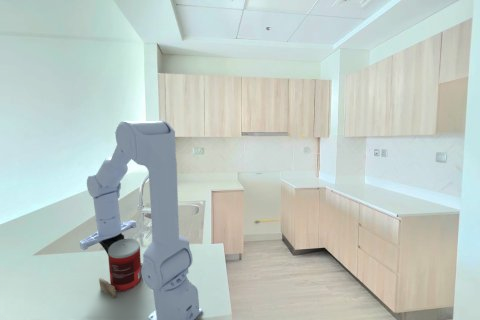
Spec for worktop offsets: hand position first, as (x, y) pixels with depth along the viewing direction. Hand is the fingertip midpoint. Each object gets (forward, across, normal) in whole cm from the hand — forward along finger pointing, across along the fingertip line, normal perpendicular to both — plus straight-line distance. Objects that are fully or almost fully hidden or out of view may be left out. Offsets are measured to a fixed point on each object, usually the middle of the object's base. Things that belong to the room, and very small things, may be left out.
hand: (113, 259), depth 65 cm
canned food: (+5, 0, +6) cm, 7 cm away
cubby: (+5, 0, +5) cm, 7 cm away
